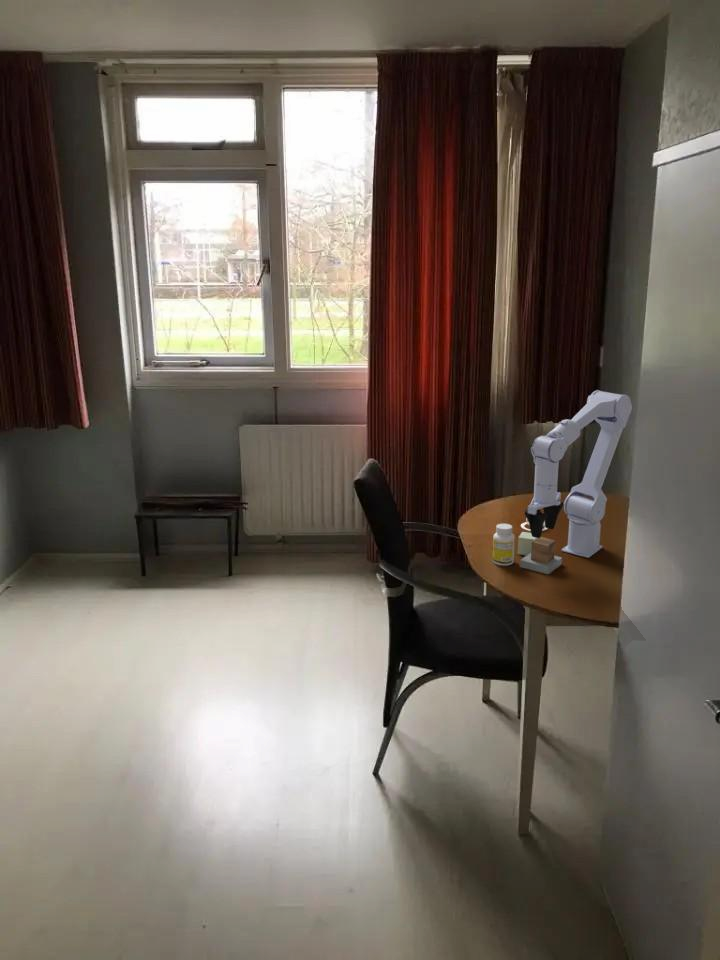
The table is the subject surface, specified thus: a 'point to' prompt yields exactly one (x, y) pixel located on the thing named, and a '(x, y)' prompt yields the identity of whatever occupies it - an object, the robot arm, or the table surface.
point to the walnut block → (543, 550)
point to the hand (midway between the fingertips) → (542, 532)
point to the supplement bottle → (503, 545)
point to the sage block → (525, 543)
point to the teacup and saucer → (529, 525)
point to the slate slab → (540, 564)
